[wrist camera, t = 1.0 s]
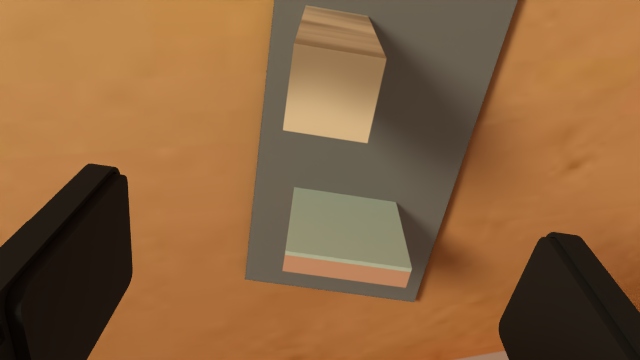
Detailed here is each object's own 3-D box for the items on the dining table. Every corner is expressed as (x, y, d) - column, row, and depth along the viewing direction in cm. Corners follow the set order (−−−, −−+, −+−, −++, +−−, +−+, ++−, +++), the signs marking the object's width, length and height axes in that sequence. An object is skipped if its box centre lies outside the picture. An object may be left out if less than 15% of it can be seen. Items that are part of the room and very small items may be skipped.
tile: (391, 219, 37) (405, 287, 30) (291, 204, 36) (282, 270, 29) (396, 202, 36) (412, 268, 29) (294, 187, 36) (285, 250, 29)
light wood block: (355, 76, 31) (367, 143, 22) (297, 67, 31) (282, 130, 21) (368, 15, 29) (386, 58, 20) (305, 5, 29) (294, 43, 20)
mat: (413, 297, 41) (414, 302, 41) (246, 274, 41) (244, 279, 40) (517, -11, 29) (521, -10, 29) (280, -54, 28) (280, -53, 28)
